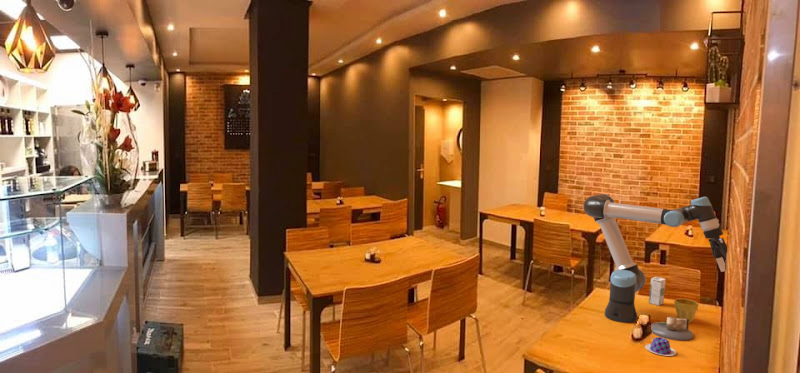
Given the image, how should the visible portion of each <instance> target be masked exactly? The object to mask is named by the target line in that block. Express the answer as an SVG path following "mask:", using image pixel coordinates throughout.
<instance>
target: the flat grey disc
mask: <svg viewBox="0 0 800 373" xmlns="http://www.w3.org/2000/svg"><path fill="white" fill-rule="evenodd" d="M666 324H667V321H658V322H651V330H652V332H651V333H652V334H654V335H656V336H657V337H661V338H664V339H667V340H673V341H679V342H680V341H683V342H684V341H690V340H693V338H694V333H693V331H692V330H691V329H690V328H688V329H676V330H669V329H667V328H666Z"/></svg>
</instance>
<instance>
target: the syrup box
mask: <svg viewBox="0 0 800 373" xmlns="http://www.w3.org/2000/svg"><path fill="white" fill-rule="evenodd" d="M649 284H650V285H649V295H648V296H649V297H648V303H649V304H652V305H656V306H661V305H664V300H665V290H666V278H663V277H659V276H654V277H652V278H650V283H649Z"/></svg>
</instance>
